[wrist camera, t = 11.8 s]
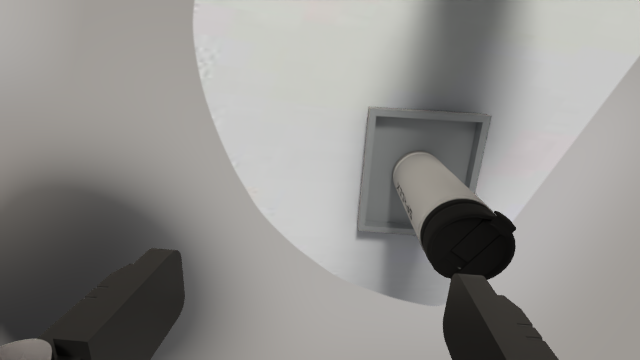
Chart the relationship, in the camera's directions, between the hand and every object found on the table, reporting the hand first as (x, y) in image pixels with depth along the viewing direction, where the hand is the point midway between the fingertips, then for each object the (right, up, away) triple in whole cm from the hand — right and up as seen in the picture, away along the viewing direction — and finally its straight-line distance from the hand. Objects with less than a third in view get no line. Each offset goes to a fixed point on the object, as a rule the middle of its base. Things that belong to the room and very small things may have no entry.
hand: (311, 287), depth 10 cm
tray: (+13, +4, +34) cm, 36 cm away
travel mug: (+13, +4, +33) cm, 36 cm away
